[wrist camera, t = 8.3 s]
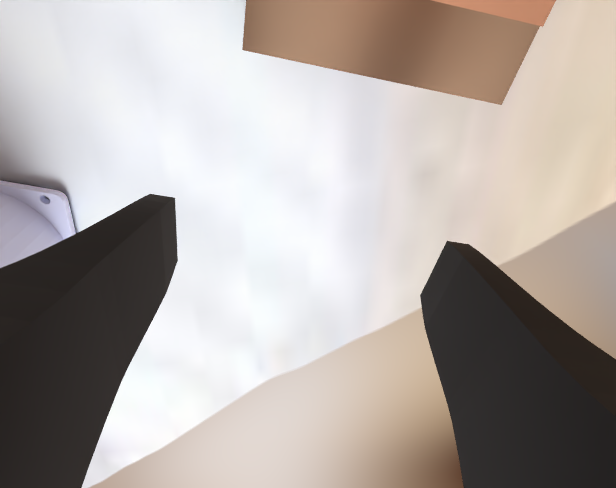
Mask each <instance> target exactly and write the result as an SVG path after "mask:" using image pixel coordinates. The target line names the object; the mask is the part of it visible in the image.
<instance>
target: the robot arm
mask: <svg viewBox="0 0 616 488" xmlns="http://www.w3.org/2000/svg"><path fill="white" fill-rule="evenodd" d="M45 196H47V197H48V198H49V199H50V200H48V199H47V198H45ZM177 260H178V259H177V236H176V213H175V198H173V197H166V196H160V195H154V194H149V195H147V196H145V197H143V198H141V199H139V200H137V201H135V202H134V203H132V204H130V205H128V206H126V207H125V208H123V209H121V210H119V211H117V212H116V213H114V214H112V215H110V216H108V217H107V218H105V219H103V220H101V221H99V222H97V223H96V224H94V225H92V226H90V227H88V228H86V229H84V230H83V231H81V232H79V233H76V232H75V228H74V223H73V219H72V214H71V210H70V206H69V201H68V198H67V196H66V195H65V194H64V193H62V192H61V191H58V190H53V189H47V188H41V187H35V186H30V185H24V184H18V183H12V182H6V181H0V488H81V487H82V484H83V481H84V479H85V476H86V473H87V470H88V467H89V464H90V462H91V459H92V456H93V454H94V451H95V448H96V445H97V443H98V440H99V437H100V435H101V432H102V429H103V427H104V424H105V421H106V419H107V416H108V414H109V411H110V409H111V406H112V404H113V401H114V398H115V396H116V393H117V391H118V388H119V386H120V383H121V381H122V379H123V377H124V375H125V373H126V370H127V368H128V366H129V364H130V362H131V360H132V358H133V356H134V354H135V353H136V351H137V349H138V347H139V345H140V343H141V341H142V339H143V337H144V335H145V333H146V331H147V329H148V328H149V326H150V324H151V322H152V320H153V318H154V316H155V314H156V312H157V310H158V308H159V306H160V304H161V302H162V300H163V298H164V296H165V294H166V292H167V289H168V286H169V284H170V281H171V278H172V275H173V272H174V269H175V266H176V263H177ZM420 296H421V304H422V312H423V318H424V325H425V329H426V333H427V337H428V340H429V344H430V347H431V351H432V354H433V357H434V361H435V364H436V367H437V371H438V374H439V377H440V381H441V384H442V387H443V391H444V394H445V397H446V401H447V404H448V408H449V411H450V416H451V419H452V423H453V429H454V434H455V440H456V445H457V450H458V455H459V460H460V467H461V473H462V479H463V486H464V488H616V359H614V358H613V357H611V356H610V355H609V354H607V353H605V352H604V351H603V350H601V349H600V348H598V347H597V346H595V345H594V344H592V343H591V342H590V341H588V340H587V339H586V338H584V337H583V336H581V335H580V334H579V333H577V332H576V331H575V330H573V329H572V328H571V327H569V326H568V325H567V324H566V323H564V322H563V321H562V320H561V319H559V318H558V317H557V316H555V315H554V314H553V313H552V312H550V311H549V310H548V309H547V308H545V307H544V306H543V305H541V304H540V303H539V302H538V301H536V299H534V298H533V297H532V296H531V295H530V294H528V293H527V292H526V291H525V290H524V289H523V288H521V287H520V286H519V285H518V284H517V283H516V282H514V281H513V280H512V279H511V278H510V277H508V276H507V275H506V274H505V273H504V272H503V271H501V270H500V269H499V268H498V267H497V266H496V265H495V264H493V263H492V262H491V261H490V260H489V259H487V258H486V257H485V256H484V255H482V254H481V253H480V252H479V251H477V250H476V249H475V248H473V247H472V246H470V245H469V244H463V243H457V242H450V241H447V242H446V244H445V246H444V248H443V250H442V253H441V255H440V257H439V259H438V261H437V263H436V265H435V267H434V269H433V271H432V273H431V275H430V277H429V279H428V281H427V283H426V285H425V287H424V289H423V291H422V293H421V295H420Z"/></svg>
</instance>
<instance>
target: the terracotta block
mask: <svg viewBox="0 0 616 488" xmlns="http://www.w3.org/2000/svg"><path fill="white" fill-rule="evenodd" d="M432 1H436V2H440V3H445V4H449V5H453V6H457V7H462V8H466V9H470V10H474V11H479V12H483V13H487V14H491V15H496V16H500V17H504V18H508V19H512V20H517V21H521V22H525V23H529V24H534V25H538V26H542V27H543V25H544V23H545V21H546V19H547V17H548V15H549V13H550V11H551V9H552V7H553V5H554V3H555V1H556V0H432Z"/></svg>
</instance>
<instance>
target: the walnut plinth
mask: <svg viewBox="0 0 616 488" xmlns="http://www.w3.org/2000/svg"><path fill="white" fill-rule="evenodd" d="M539 27H540V26H538V25H534V24H529V23H525V22H521V21H517V20H512V19H508V18H504V17H500V16H496V15H491V14H487V13H483V12H479V11H474V10H470V9H466V8H462V7H457V6H453V5H449V4H445V3H440V2H436V1H432V0H246V10H245V23H244V37H243V50H245V51H250V52H255V53H259V54H264V55H269V56H274V57H278V58H283V59H288V60H292V61H297V62H302V63H307V64H311V65H316V66H321V67H325V68H330V69H335V70H340V71H344V72H349V73H354V74H358V75H363V76H368V77H373V78H377V79H382V80H387V81H391V82H396V83H401V84H406V85H410V86H415V87H420V88H424V89H429V90H434V91H439V92H443V93H448V94H453V95H457V96H462V97H467V98H472V99H476V100H481V101H486V102H490V103H495V104H500V105H502V103H503V101H504V99H505V97H506V95H507V93H508V90H509V88H510V86H511V84H512V82H513V80H514V78H515V76H516V74H517V72H518V70H519V68H520V66H521V64H522V62H523V60H524V58H525V56H526V54H527V52H528V49H529V47H530V45H531V43H532V41H533V39H534V37H535V35H536V33H537V31H538V29H539Z"/></svg>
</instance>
